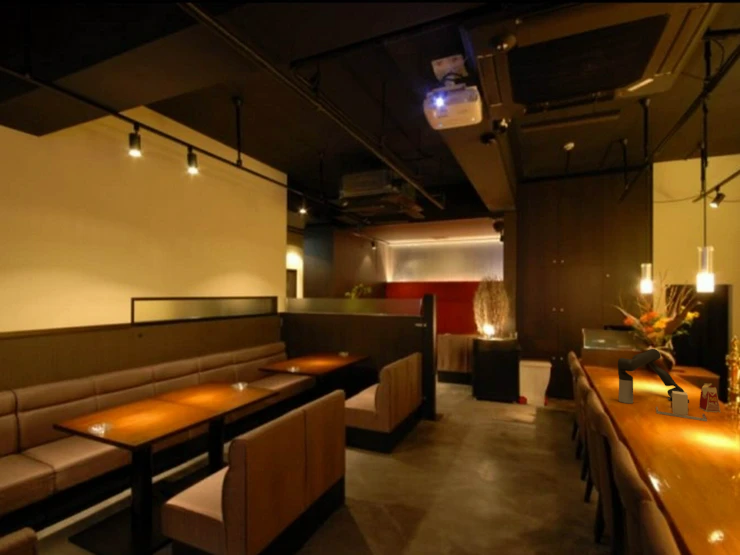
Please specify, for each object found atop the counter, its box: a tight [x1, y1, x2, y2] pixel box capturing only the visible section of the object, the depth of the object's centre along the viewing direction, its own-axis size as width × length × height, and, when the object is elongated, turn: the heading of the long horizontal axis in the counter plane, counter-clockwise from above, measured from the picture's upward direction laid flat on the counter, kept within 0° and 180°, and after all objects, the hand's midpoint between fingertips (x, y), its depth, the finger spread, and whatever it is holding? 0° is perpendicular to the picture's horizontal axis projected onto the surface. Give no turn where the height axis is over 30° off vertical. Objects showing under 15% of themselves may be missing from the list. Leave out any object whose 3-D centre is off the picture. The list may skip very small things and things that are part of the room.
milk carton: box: [698, 382, 722, 414], centre depth 281 cm, size 9×9×20 cm
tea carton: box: [671, 391, 689, 416], centre depth 274 cm, size 8×8×14 cm
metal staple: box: [655, 406, 708, 422], centre depth 270 cm, size 27×14×2 cm, turn 55°
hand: (679, 402), depth 278 cm, fingers closed
